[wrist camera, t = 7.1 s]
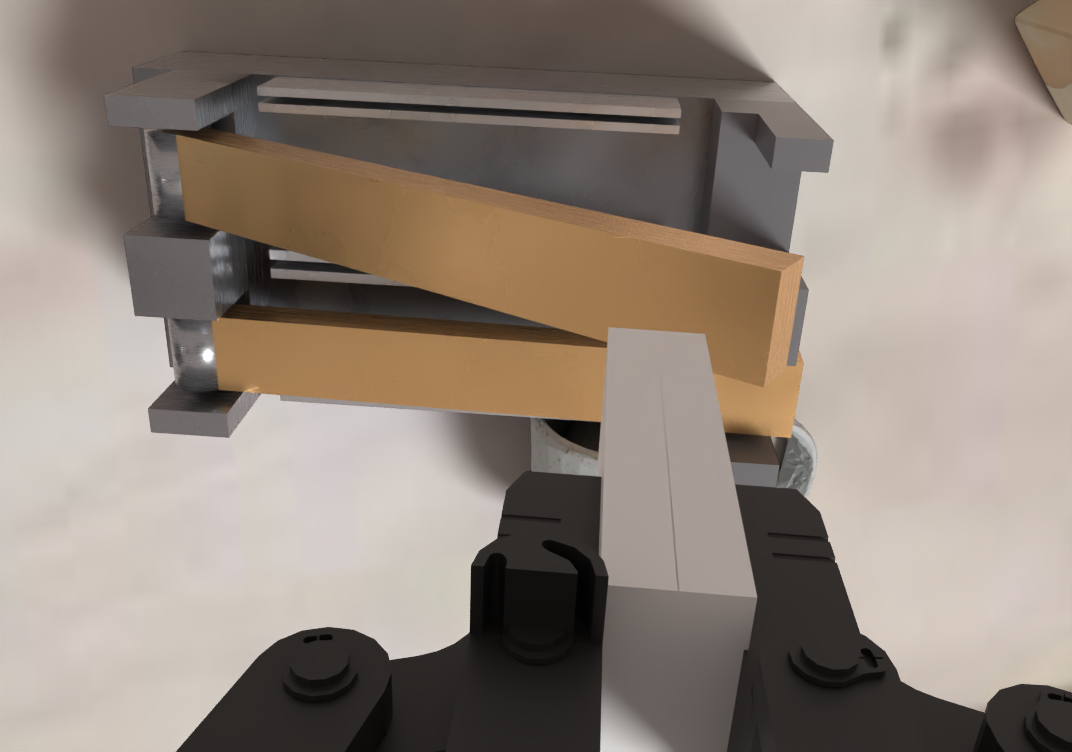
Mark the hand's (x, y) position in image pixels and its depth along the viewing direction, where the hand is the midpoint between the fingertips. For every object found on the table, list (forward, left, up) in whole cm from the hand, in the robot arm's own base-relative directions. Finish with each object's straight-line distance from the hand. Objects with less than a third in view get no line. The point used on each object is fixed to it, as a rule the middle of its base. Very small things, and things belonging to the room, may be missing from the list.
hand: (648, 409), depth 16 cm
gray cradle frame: (-5, -3, -20) cm, 21 cm away
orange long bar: (-4, -5, -14) cm, 15 cm away
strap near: (-5, 0, -10) cm, 11 cm away
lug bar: (+3, -3, -16) cm, 17 cm away
